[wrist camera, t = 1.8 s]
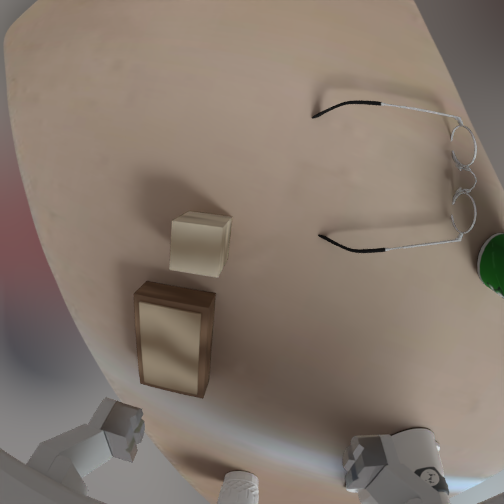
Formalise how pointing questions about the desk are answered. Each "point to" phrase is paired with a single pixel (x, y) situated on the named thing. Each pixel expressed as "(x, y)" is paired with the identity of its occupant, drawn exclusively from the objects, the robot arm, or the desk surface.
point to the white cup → (239, 488)
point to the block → (200, 243)
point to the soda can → (492, 263)
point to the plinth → (174, 337)
